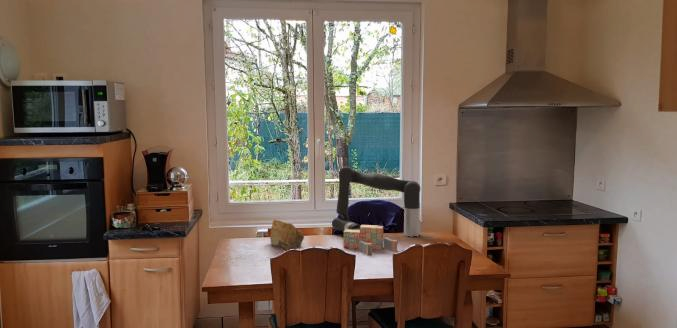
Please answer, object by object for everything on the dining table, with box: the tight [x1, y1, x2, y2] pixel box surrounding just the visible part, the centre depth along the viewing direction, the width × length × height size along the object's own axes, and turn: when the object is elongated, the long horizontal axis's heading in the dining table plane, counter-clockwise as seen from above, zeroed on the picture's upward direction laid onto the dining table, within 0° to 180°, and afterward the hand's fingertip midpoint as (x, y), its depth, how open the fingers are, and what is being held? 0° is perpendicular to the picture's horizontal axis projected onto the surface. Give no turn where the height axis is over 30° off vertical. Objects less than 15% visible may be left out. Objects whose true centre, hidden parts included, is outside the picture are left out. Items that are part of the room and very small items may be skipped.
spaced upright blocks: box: [358, 237, 398, 256], centre depth 245 cm, size 18×10×6 cm, turn 117°
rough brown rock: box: [269, 219, 305, 251], centre depth 252 cm, size 23×17×15 cm
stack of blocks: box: [343, 224, 384, 251], centre depth 251 cm, size 21×6×12 cm, turn 78°
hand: (368, 235), depth 254 cm, fingers closed
